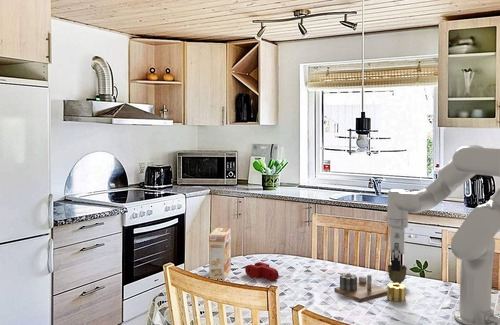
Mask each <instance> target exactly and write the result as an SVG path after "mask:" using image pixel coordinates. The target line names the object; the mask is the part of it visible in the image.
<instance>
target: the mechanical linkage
mask: <svg viewBox="0 0 500 325" xmlns="http://www.w3.org/2000/svg"><path fill="white" fill-rule="evenodd" d="M244 269H245V270H244V271H245V273H246V275H247V276H248V277H251V278H254V279H265V280H267V281H271V282H275V281H277V280H278V279H279V278H280V277H279V276H280V275H279V271H278V270H277V269H276V268H274V267H270V264H269V263H266V262H265V263H264V262H262V261H258V262H255V263H254V264H251V263H250V264H247V265H246V266H245V268H244Z"/></svg>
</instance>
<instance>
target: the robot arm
mask: <svg viewBox="0 0 500 325" xmlns="http://www.w3.org/2000/svg"><path fill="white" fill-rule="evenodd" d="M437 175H438V176H437V177H436V179H435V180H434V181H433V182H431V183H430V184H429V185H428V186H426V187H425V188H423V189H421V190H417V191H412V192H409V191H408V190H406V189H402V188H401V189H399V188H392V189H389V190H388V192H387V207H386V209H387V210H386V212H387V213H386V227H388V228H389V251H390V263H391V264H390V265H391V270H392V271H400V265H401V255H404V254H405V233H406V231H405V229H406V228H407V229H408V225H409V224H408V223H409V213H411V214H418V213H422V212H426V211H429V210H432V209H433V208H435V207H436V206H439V204H441V203H442V202H443V201H444V200H446V199H447V198H448V197H450V196H451V195H452V194H453V193H454V192H455V191H456V190H457V189H458V188H459V187H461V186H462V185H463V184H465V183H466V182H468V181H469V180H470V179H473V177H474V176H476V175H478V176H479V175H480V176H489V177H499V178H500V148H492V147H491V148H489V147H484V146H480V145H479V144H478V145H477V144H473V145H472V144H471V145H464V146H461V147H459V148H458V149H457V150H456V151H454V153H453V155H452V159H451V160H450V161H449V162H447V163H446V164H444V165H443V166H442V167H440V169H438V171H437ZM499 232H500V185H499V186H498V188H497V189H496V191H495V192H494V194H493V195H492V196H491V197H490V198H489V200H488V201H487V202H485V203H483V204H479V205H477V206H475V207H474V208H473V209H472V210H471V211H470V212H469V214H468V215H467V216H466V218H465V219H464V221H463V222H462V223H461V225H460V226H459V227H458V229H457V230H456V232H455V233H454V234H453V236H452V238H451V241H450V249H451V252H452V254H453V255H454V257H456V258H457V259H459V260H460V274H459V275H460V276H459V277H460V278H459V304H458V305H459V309H458V310H457V311H455V312H454V313H453V317H454V319H455V320H456V321H457V322H458V323H460V324H463V325H500V316H498V315H496V314H495V309H492V284H493V282H492V281H493V280H492V279H493V278H492V277H493V265H494V264H493V263H494V258H495V250H496V240H495V236H496V235H497V234H498V233H499Z"/></svg>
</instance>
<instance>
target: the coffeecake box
mask: <svg viewBox="0 0 500 325" xmlns="http://www.w3.org/2000/svg"><path fill="white" fill-rule="evenodd" d="M231 230H232V229H231V228H229V227H216V228H214V230H213V231H212V232H210V233H209V235H208V258H209V260H208V264H209V265H208V268H209V269H208V276H209V277H210V278H214V279H218V280H217V281H225V280H226V279H227V277H228V275H229V274H230V272H231V271H232V270H231V269H232V261H231V260H232V257H231V256H232V255H231V254H232V249H231V248H232V238H231V235H232V234H231V233H232V231H231ZM221 279H222V280H221Z"/></svg>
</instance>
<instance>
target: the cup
mask: <svg viewBox="0 0 500 325" xmlns="http://www.w3.org/2000/svg"><path fill="white" fill-rule="evenodd" d="M407 269H408V268H407V266H405V264H404V265H402V264H400V271H392V270H391V264H388V265H387V271H388V272H387V273H388V277H389V280H390V281H391V283H393V284H394V283H398V284H403V282H404V281H405V279H406V277H407V271H408V270H407Z"/></svg>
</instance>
